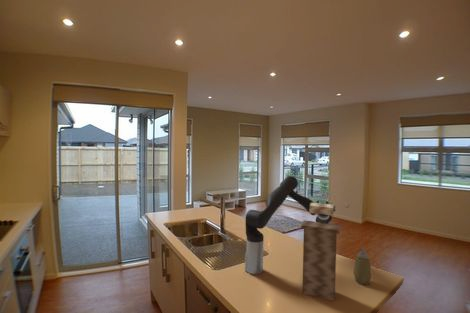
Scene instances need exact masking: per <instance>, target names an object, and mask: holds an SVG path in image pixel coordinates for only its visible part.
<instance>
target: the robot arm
mask: <svg viewBox="0 0 470 313" xmlns="http://www.w3.org/2000/svg"><path fill="white" fill-rule="evenodd" d="M298 184H299V180H298V179H297V178H296V177H295V176H294V175H289V176H286V177H285V178H284V179H283V180H282V181H281V182H280V183H279V186H278V187H276V188H275V189H274V190H273V191H271V192H270V193H269V194H268V195H267V197H266V199H265V208H264V209H263V210H262V211H260V210H256V209H249V210H247V212H246V214H245V219H244V220H245V236H246V252H245V255H244V272H246V273H249V274H251V275H260V274H263V272H264V234H263V233H262V232H261V231H260V230H261V229H264V228H265V227H266V226H267V224H268V223H269V222H270V220H271V218H272V216H273V215H274V214H275V212H276V211H277V210H278V209H279V208H280V206H282V205H283V203H284V202H285V200H286V199H287V198H288V196H289V197H290V198H291V199H293V200H294V201H295V202H297V203H298V204H299V205H301V207H303V208H304V209H305V210H306V211H307V212H308V213H309V208H310V204H311V203H319V200H320V199H318V200H316V201H315V202H314V201H313V200H312V199H311V198H309V197H307V196H303V195H301V194H299V193H297V192H296V191H295V189H296V188H297V187H298ZM326 204H330V202H329V201H327V200H326ZM331 204H332V205H333V212H336V206H335V205H334V204H333V203H331ZM309 214H310V215H311V216H315V215H317V216H316V218H315V222H322V223H330V222H331V221H332V220H333V217H332V216H333V215H325V214H316V213H309ZM258 229H260V230H258Z"/></svg>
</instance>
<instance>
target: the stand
mask: <svg viewBox="0 0 470 313" xmlns="http://www.w3.org/2000/svg"><path fill="white" fill-rule="evenodd" d="M301 230H303V242H302V243H303V247H302V248H303V251H302V287H301V288H302V291H301V293H302V294H303V295H307V296H312V297H315V298H319V299H324V300H328V301H332V302H336V301H335V299H336V275H337V274H336V273H337V272H336V267H337V238H338V237H337V235H338V234H339V235H340V224H337V223H330V222H329V223H322V222H316V221H313V220H312V221H311V220H304V219H303V221H302V224H301Z"/></svg>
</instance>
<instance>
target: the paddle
mask: <svg viewBox="0 0 470 313" xmlns="http://www.w3.org/2000/svg"><path fill="white" fill-rule="evenodd" d="M318 200H319V203H311V204H310V208H309V212H308V213H309V214H310V213H316V215H317V214H325V215H331V216H334V211H333V205H334V204H333V203H329V204H326V201H327V200H326V199H318ZM332 204H333V205H332Z"/></svg>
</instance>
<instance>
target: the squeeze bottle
mask: <svg viewBox="0 0 470 313" xmlns="http://www.w3.org/2000/svg"><path fill="white" fill-rule="evenodd" d="M359 251H360V252H359ZM359 251H358V252H357V256H355V260H354V261H355V262H354V268H353V276H354V279H355V282H357V283H359V284H361V285H368V284H370V281H371V279H372V271H371V269H372V268H371V260H370V259H369V254H368V253H367V252H366V249H365V246H361V248H360V250H359Z"/></svg>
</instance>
